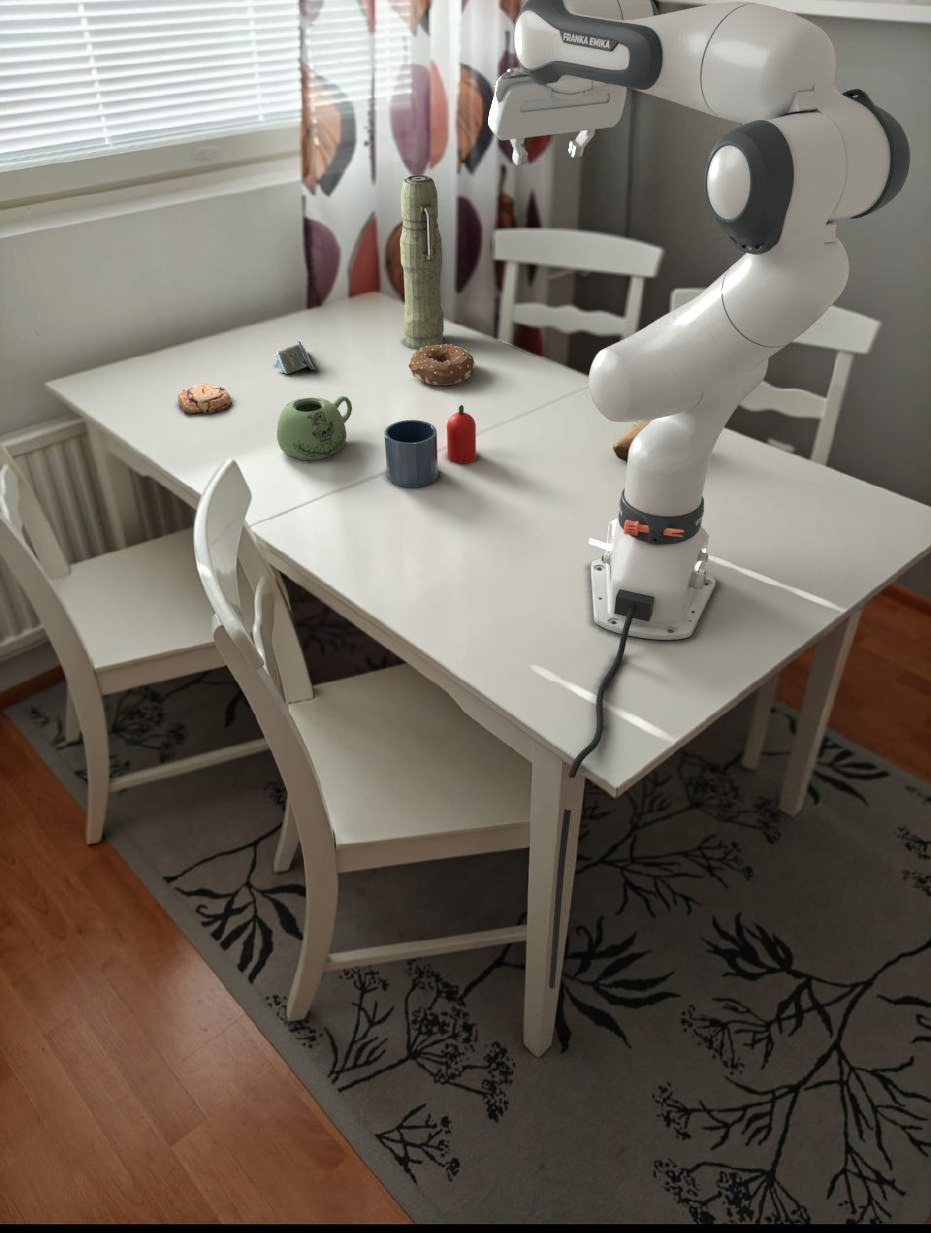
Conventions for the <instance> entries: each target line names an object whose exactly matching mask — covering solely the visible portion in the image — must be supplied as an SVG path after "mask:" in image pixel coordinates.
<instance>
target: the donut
mask: <svg viewBox="0 0 931 1233" xmlns="http://www.w3.org/2000/svg"><path fill="white" fill-rule="evenodd" d="M408 368H409V369H410V372H411V374H412V376H413V377H414V378H417V379H418V380H419V381H421V382H423V383H424V384H428V385H434V386H450V385H457V384H459V383H463V382H464V381H466V380H467V379H468V378H469V377H471V376H473V375H474V372H475V369H474V368H475V360H474V357H473V355H472V354H471V353H470V352H468V351H467V350H466V349H463V348H462V347H461V346H457V345H455V344H452V343H450V344H447V343H445V344H444V343H443V344H441V345H434V346H432V345H430V346H425V347H423V348H422V347H421V348H420V349H417V350H416V351H415V352H414V353H413V354H412V355H411V357H410V364H408Z"/></svg>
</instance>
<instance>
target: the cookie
mask: <svg viewBox="0 0 931 1233" xmlns="http://www.w3.org/2000/svg"><path fill="white" fill-rule="evenodd" d="M177 398H178V404H179V406H180V408H181V409H182V411H183V412H185V413H191V414H196V413H202V414H214V413H217V412H219V411H221V412H222V411H224V410H225V409H226V408H229V405H230V404H231V399H232V398H231V395H230V394H229V392H228V391H227V389H225V387H221V386H218V385H217V386H216V385H211V384H209V383H206V382H202V383H199V384H195V385H192V386H191V387H190V388H189V389H181V390H180V391H178V393H177Z"/></svg>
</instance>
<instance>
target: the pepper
mask: <svg viewBox="0 0 931 1233" xmlns="http://www.w3.org/2000/svg"><path fill="white" fill-rule="evenodd" d="M464 410H465V408H464V405H463V404H459V406H458V412H455V413H453V414H452V415H451V416H450V417H449V419H448V421H447V424H446V448H447V449H446V450H447V451H446V452H447V459H448V460H449V461H450V462H451V463H456V464H468V463H472V462H473V461H474V460H476V458H477V424H476V421H475V419H474V417H473V416H471V414H469V413H467V412H465V411H464Z"/></svg>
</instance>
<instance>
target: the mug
mask: <svg viewBox="0 0 931 1233" xmlns="http://www.w3.org/2000/svg"><path fill="white" fill-rule="evenodd" d="M343 402H345V403H346V404H345V405H346V407H347V408H346V412H345V413H344V415H342V413H341V412H340V410H339V408H340V406H341V405H342V403H343ZM352 412H353V406H352V401H350V399H349V397H348V396H345V395H341V396H339V397H338V398H337V399H336V400H334V401H333V402H331V401H329V400H328V399H325V398H322V397H315V396H311V397H310V396H309V397H308V396H307V397H301V398H297V399H294V400H292V401H291V402H289V403H287V404H286V405H285V407H284V408H283V409H282V410H281V412H280V413H279V416H278V420H277V422H276V423H277V425H276V441H277V443H278V447H279V449H280V450H281V451H282V452H283V453H284V454H286V455H287V456H289V457H292V458H294V459H297V460H303V461H316V460H322V459H325V458H329V457H331V456H333V455H335V454H337V453H338V452H339V451H340V450H342V449H343V447H344V446H345V445H346V441H347V429H346V425H345V424H346V422H347V421H348V420H349V419H350V417H351V415H352Z"/></svg>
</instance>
